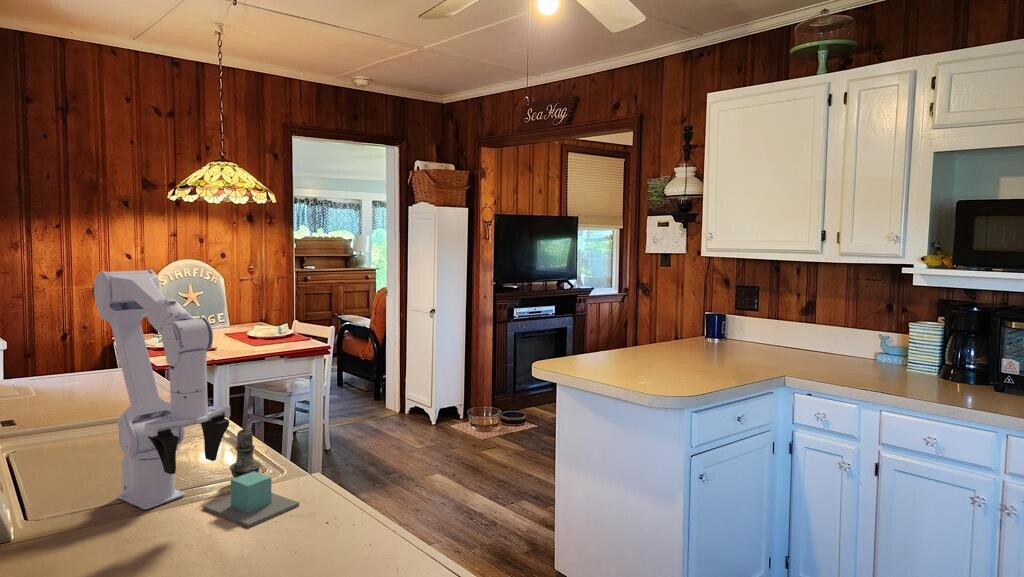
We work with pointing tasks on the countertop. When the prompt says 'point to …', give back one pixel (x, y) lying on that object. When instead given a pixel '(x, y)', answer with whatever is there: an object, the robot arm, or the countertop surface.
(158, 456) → the robot arm
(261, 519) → the charcoal mat
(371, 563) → the countertop surface
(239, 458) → the dark grey chess piece
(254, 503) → the teal cube
